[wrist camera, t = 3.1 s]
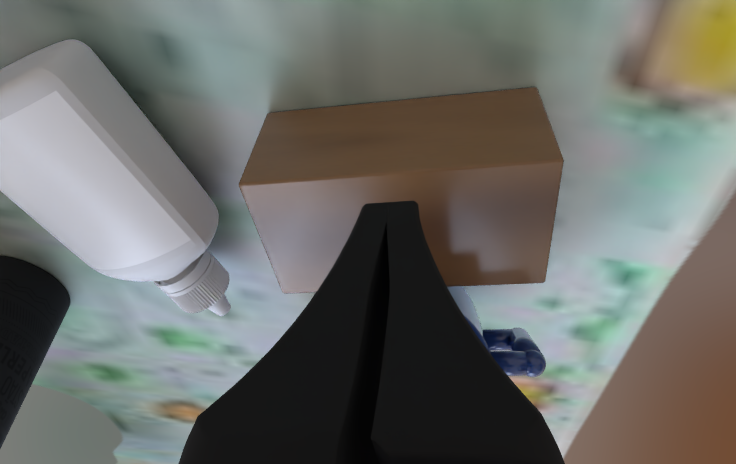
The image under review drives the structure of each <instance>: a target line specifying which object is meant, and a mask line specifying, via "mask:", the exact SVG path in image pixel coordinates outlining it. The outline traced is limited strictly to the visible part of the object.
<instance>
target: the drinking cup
mask: <svg viewBox="0 0 736 464" xmlns="http://www.w3.org/2000/svg"><path fill="white" fill-rule="evenodd" d="M69 306H70V298H69V295H68V293H67V291H66V290H65V288H64V287H63V286H62V285H61V284H60V283H59V282H58V281H57V280H56V279H55V278H54V277H52V276H51V275H50V274H48V273H46V272H45V271H43V270H41V269H40V268H38V267H36V266H34V265H31V264H29V263H27V262H24V261H21V260H18V259H14V258H10V257H5V256H0V448H1V446H2V444H3V442H4V440H5V438H6V436H7V434H8V432H9V430H10V427H11V425H12V424H13V422H14V419H15V417H16V415H17V413H18V411H19V409H20V407H21V405H22V403H23V401H24V399H25V397H26V395H27V393H28V390H29V388H30V387H31V384H32V382H33V380H34V378H35V376H36V374H37V372H38V370H39V368H40V366H41V364H42V362H43V360H44V358H45V356H46V354H47V351H48V349H49V347H50V345H51V343H52V341H53V339H54V337H55V335H56V333H57V331H58V329H59V327H60V325H61V323H62V321H63V319H64V316H65V314H66V312H67V310H68V308H69Z"/></svg>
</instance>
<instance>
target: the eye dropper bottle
mask: <svg viewBox="0 0 736 464" xmlns="http://www.w3.org/2000/svg"><path fill="white" fill-rule="evenodd" d="M0 191H1V192H2V193H4V194H5V195H6V196H7V197H8V198H9V199H11V200H12V201H13V202H14V203H15V204H16V205H18V206H19V207H20V208H21V209H22V210H23V211H25V212H26V213H27V214H28V215H29V216H30V217H32V218H33V219H34V220H35V221H36V222H37V223H39V224H40V225H41V226H42V227H43V228H44V229H46V230H47V231H48V232H49V233H50V234H51V235H53V236H54V237H55V238H56V239H57V240H58V241H60V242H61V243H62V244H63V245H64V246H65V247H67V248H68V249H69V250H70V251H71V252H73V253H74V254H75V255H76V256H77V257H79V258H80V259H81V260H82V261H84V262H85V263H86V264H87V265H88V266H90V267H91V268H93V269H94V270H96V271H97V272H99V273H101V274H103V275H106V276H109V277H112V278H116V279H121V280H127V281H139V282H147V281H154V283H155V284H156V285H157V286H158V287H159V288H160V289H161V290H162V291H163V292H164V293H165V294H166V295H168V296H169V297H170V298H171V299H172V300H173V301H174V302H175V303H176V304H177V305H178V306H179V307H180V308H181V309H182V310H183V311H185V312H187V313H198V312H201V311H204V310H206V309H209V310H210V311H212V312H214V313H215V314H217V315H219V316H223V315H225V314H227V313H228V312H229V310H230V308H231V305H230V303H229V301H228V300H227V298H226V296H225V294H224V293H225V291H226V290H227V287H228V284H229V274H228V272H227V271H226V270H225V268H224V267H223V266H222V265H221V264H220V263H219V262H218V261H217V259H216V258H215V257H214V256H213V255H212V254H211V253H210V252H209V250H208V249H207V248H208V246H209V245H210V243H211V241H212V239H213V237H214V235H215V233H216V230H217V227H218V223H219V213H218V209H217V207H216V206H215V204H214V202H213V201H212V200H211V198H210V197H209V196H208V194H207V193H206V192H205V190H204V189H203V188H202V186H201V185H200V184H199V183H198V181H197V180H196V179H195V177H194V176H193V175H192V174H191V172H190V171H189V170H188V169H187V167H186V166H185V165H184V164H183V162H182V161H181V160H180V159H179V157H178V156H177V155H176V154H175V152H174V151H173V150H172V149H171V147H170V146H169V145H168V144H167V142H166V141H165V140H164V139H163V137H162V136H161V135H160V133H159V132H158V131H157V130H156V129H155V127H154V126H153V125H152V124H151V122H150V121H149V120H148V119H147V117H146V116H145V115H144V114H143V112H142V111H141V110H140V109H139V107H138V106H137V105H136V104H135V102H134V101H133V100H132V99H131V97H130V96H129V95H128V94H127V92H126V91H125V90H124V89H123V87H122V86H121V85H120V84H119V82H118V81H117V80H116V79H115V77H114V76H113V75H112V74H111V73H110V71H109V70H108V69H107V68H106V66H105V65H104V64H103V63H102V61H101V60H100V59H99V58H98V56H97V55H96V54H95V53H94V52H93V50H92V49H91V48H90V47H89V46H87V45H86V44H85V43H83V42H81V41H79V40H75V39H69V40H64V41H61V42H58V43H55V44H52V45H50V46H47V47H45V48H43V49H40V50H38V51H36V52H34V53H32V54H30V55H28V56H25V57H23V58H21V59H19V60H17V61H15V62H13V63H12V64H10V65H8V66H6V67H4V68H2V69H0Z"/></svg>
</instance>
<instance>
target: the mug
mask: <svg viewBox="0 0 736 464" xmlns="http://www.w3.org/2000/svg"><path fill="white" fill-rule="evenodd" d="M447 288H448V290H449V291H450V293H451V295H452V297H453V299H454V300H455V302H456V304H457V305H458V307H459V309H460V310H461V312H462V314H463V315H464V317H465V318H466V320H467V321H468V323H469V324H470V326H471V328H472V329H473V331H474V332H475V334H476V335H477V336H478V338H479V339H480V340H481V342H482V343H483V344H484V346H485V347H486V348H487V350H488V351H489V353H490V354H491V355H492V357H493V358H494V359H495V361H496V362H497V363H498V365H499V366H500V367H501V368H502V369H503V371H504V372H505V373H506V374H507V375H508V376H529V377H536V376H539V375H541V374H542V373H543V372H544V370H545V367H546V361H545V358H544V356H543V355H542V353H541V352H540V350H539V349H538V347H537V346H536V344H535V343H534V341H533V340H532V338H531V337H530V335H529V334H528V332H527V331H526V330H524V329H522V328H513V329H494V330H483V329H482V326H481V323H480V320H479V317H478V314H477V311H476V308H475V306H474V303H473V301H472V300H471V298H470V296H469V295H468V293H467V292H466V291H465V289H464V288H463V287H462V286H453V287H447ZM496 350H510V351H496Z"/></svg>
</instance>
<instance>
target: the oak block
mask: <svg viewBox="0 0 736 464" xmlns="http://www.w3.org/2000/svg"><path fill="white" fill-rule="evenodd" d="M563 162H564V160H563V157H562V154H561V152H560V149H559V146H558V143H557V141H556V138H555V135H554V133H553V130H552V127H551V124H550V122H549V119H548V116H547V114H546V111H545V108H544V105H543V103H542V100H541V97H540V95H539V92H538V89H537V88H536V87H531V88H520V89H510V90H500V91H490V92H479V93H469V94H459V95H448V96H438V97H428V98H417V99H407V100H397V101H386V102H376V103H366V104H355V105H345V106H335V107H324V108H314V109H304V110H293V111H283V112H273V113H268V114H267V116H266V118H265V121H264V123H263V126H262V128H261V130H260V133H259V135H258V138H257V140H256V143H255V145H254V148H253V150H252V153H251V155H250V157H249V160H248V162H247V165H246V167H245V170H244V172H243V175H242V177H241V180H240V182H239V187H240V189H241V192H242V194H243V197H244V199H245V202H246V204H247V206H248V209H249V211H250V214H251V216H252V219H253V221H254V223H255V226H256V228H257V231H258V233H259V236H260V238H261V241H262V243H263V245H264V248H265V250H266V253H267V255H268V258H269V260H270V262H271V265H272V267H273V270H274V272H275V275H276V277H277V280H278V282H279V284H280V287H281V289H282V292H283V293H305V292H317V291H318V289H319V288H320V286H321V284H322V283H323V281H324V280H325V278H326V277H327V275H328V273H329V272H330V270H331V269H332V267H333V265H334V264H335V262H336V260H337V258H338V256H339V255H340V253H341V251H342V249H343V247H344V246H345V244H346V242H347V240H348V238H349V236H350V234H351V232H352V230H353V228H354V225H355V223H356V221H357V219H358V216H359V214H360V211H361V209H362V207H363V206H364V205H365V204H368V203H383V202H398V201H413V200H414V201H415V202H416V203H418V206H419V216H420V221H421V225H422V229H423V232H424V235H425V238H426V241H427V244H428V246H429V249H430V251H431V254H432V256H433V258H434V261H435V263H436V265H437V268H438V270H439V272H440V274H441V276H442V278H443V280H444V282H445V284H446V286H447V287H453V286H477V285H502V284H526V283H544V282H545V278H546V272H547V265H548V259H549V253H550V246H551V240H552V233H553V227H554V220H555V214H556V207H557V201H558V194H559V188H560V182H561V175H562V169H563Z"/></svg>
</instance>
